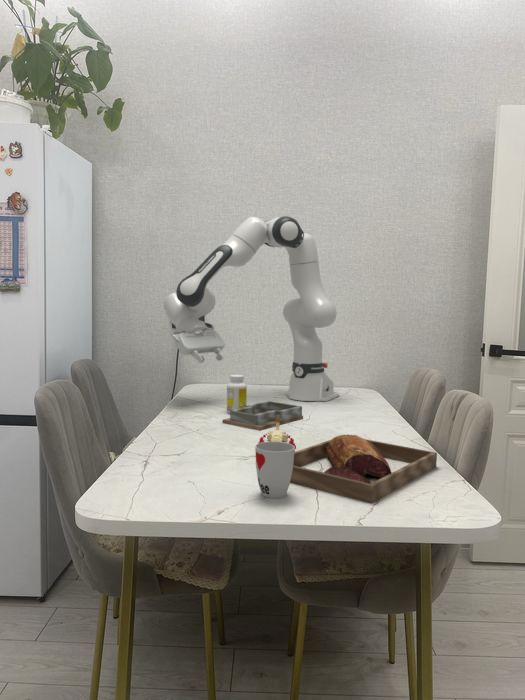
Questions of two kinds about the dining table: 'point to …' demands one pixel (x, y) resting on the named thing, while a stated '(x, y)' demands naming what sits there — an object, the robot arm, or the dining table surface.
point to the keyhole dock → (264, 415)
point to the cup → (274, 467)
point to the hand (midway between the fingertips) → (211, 360)
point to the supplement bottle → (236, 393)
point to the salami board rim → (357, 489)
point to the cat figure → (278, 435)
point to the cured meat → (355, 458)
